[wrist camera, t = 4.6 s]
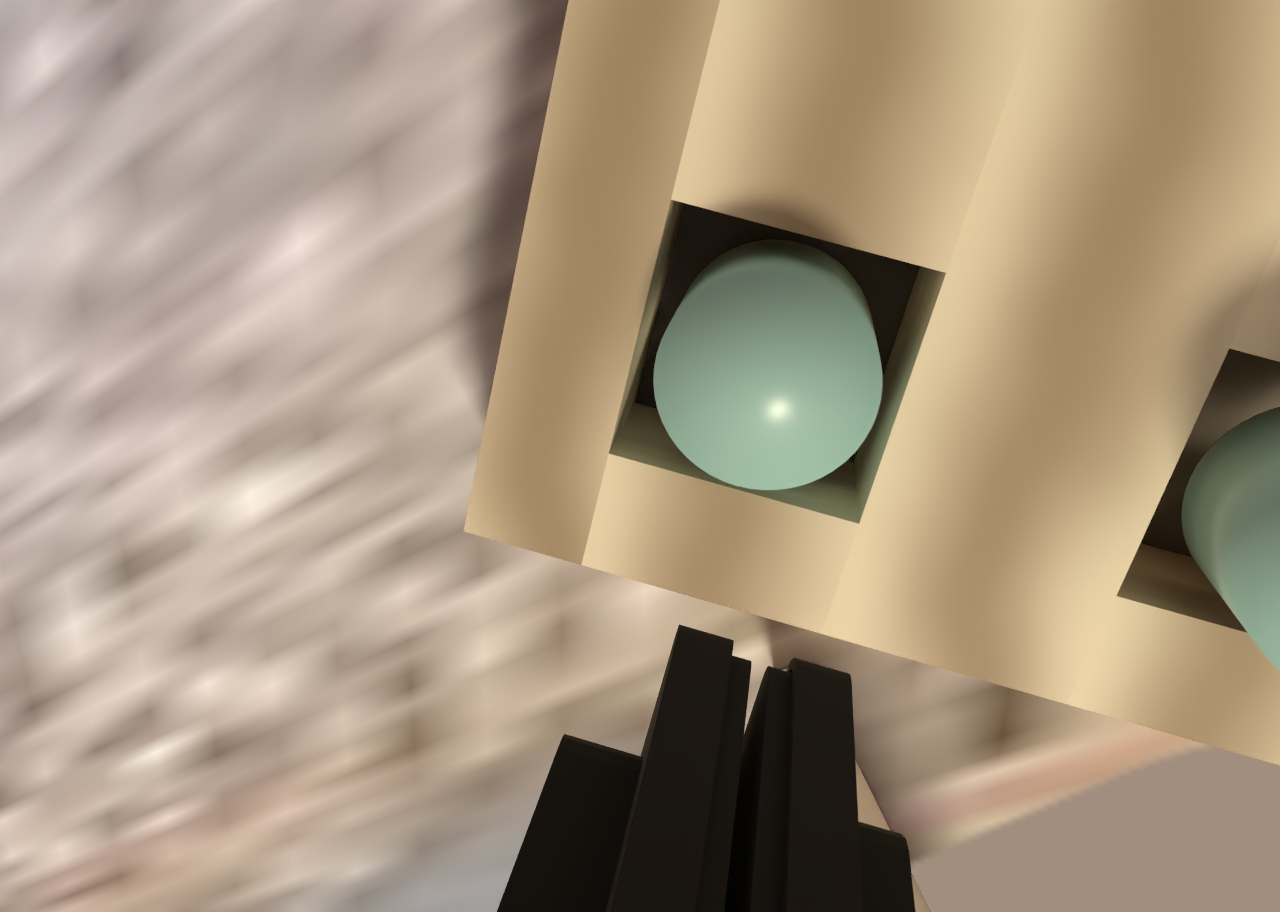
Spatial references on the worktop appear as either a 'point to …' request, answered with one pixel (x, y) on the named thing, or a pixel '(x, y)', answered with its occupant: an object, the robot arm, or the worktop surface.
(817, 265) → the button
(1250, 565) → the button
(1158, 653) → the board
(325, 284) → the worktop surface
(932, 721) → the worktop surface
